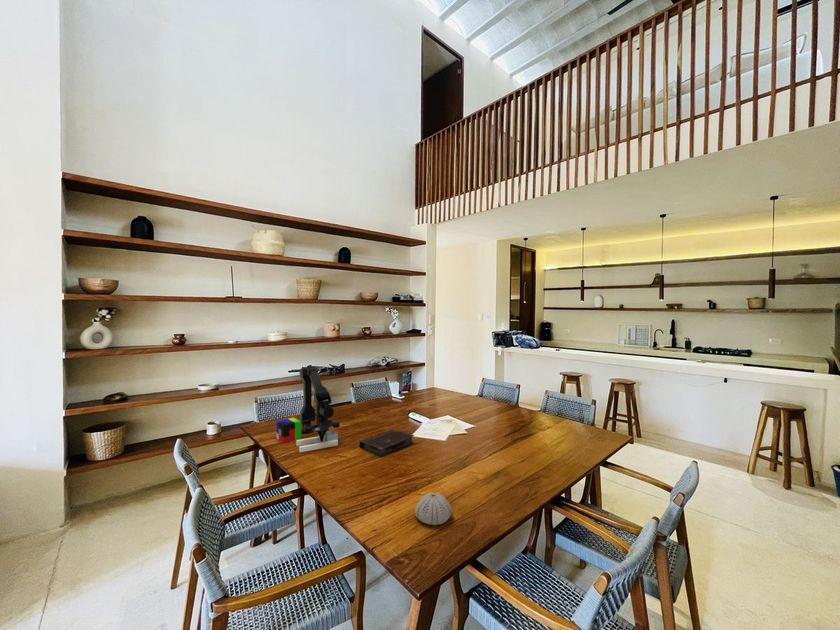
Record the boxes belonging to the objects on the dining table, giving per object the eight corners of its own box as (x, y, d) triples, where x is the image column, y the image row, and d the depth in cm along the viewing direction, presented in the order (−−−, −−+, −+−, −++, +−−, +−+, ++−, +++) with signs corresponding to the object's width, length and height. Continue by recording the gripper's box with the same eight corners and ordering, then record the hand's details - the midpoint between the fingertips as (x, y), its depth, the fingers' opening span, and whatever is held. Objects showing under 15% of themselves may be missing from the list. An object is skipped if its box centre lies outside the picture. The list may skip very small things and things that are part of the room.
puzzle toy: (276, 438, 198) (276, 421, 198) (293, 434, 205) (293, 417, 205) (283, 443, 191) (283, 425, 191) (300, 438, 198) (300, 421, 198)
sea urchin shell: (429, 533, 115) (429, 510, 115) (407, 514, 126) (407, 492, 126) (459, 519, 123) (459, 497, 123) (435, 502, 134) (435, 482, 134)
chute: (296, 444, 189) (296, 440, 189) (332, 438, 199) (332, 433, 199) (299, 452, 179) (299, 447, 179) (337, 445, 189) (337, 440, 189)
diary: (358, 449, 186) (358, 439, 186) (392, 436, 204) (392, 428, 204) (381, 458, 173) (381, 448, 173) (415, 444, 192) (415, 435, 192)
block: (324, 441, 193) (324, 432, 193) (335, 440, 196) (335, 430, 196) (327, 445, 188) (327, 435, 188) (337, 443, 191) (338, 433, 191)
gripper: (306, 419, 178) (306, 449, 179) (342, 414, 187) (342, 443, 187) (303, 414, 188) (303, 442, 188) (337, 409, 197) (336, 436, 197)
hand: (321, 441), depth 190 cm, fingers closed
